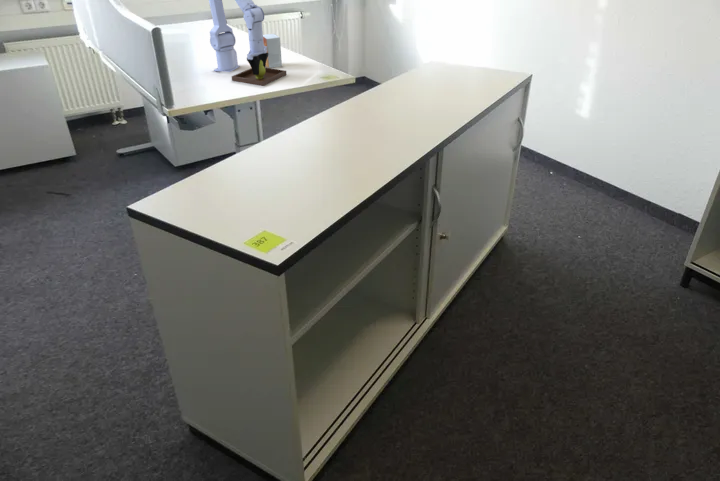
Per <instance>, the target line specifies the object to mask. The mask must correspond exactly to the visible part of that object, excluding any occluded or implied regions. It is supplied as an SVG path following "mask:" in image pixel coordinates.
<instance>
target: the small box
mask: <svg viewBox="0 0 720 481" xmlns="http://www.w3.org/2000/svg"><path fill="white" fill-rule="evenodd" d="M263 43H264V46H267V53H268V54H269V55H268V57H267V60H266V66H265V67H266V68H272V69H273V68H280V67H283V61H282V47H281V37H280V36H278V35H277V34H275V33H266V34H263Z"/></svg>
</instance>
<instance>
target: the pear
mask: <svg viewBox="0 0 720 481" xmlns="http://www.w3.org/2000/svg"><path fill="white" fill-rule="evenodd" d="M257 58H258V56H257ZM265 67H266V66H265ZM265 67H264V66H263V62H262V60H260V64H259V75H255V76H256V78H257V79H262V78H264V77H263V76H264V75H265V72H266V70H265Z"/></svg>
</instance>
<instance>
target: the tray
mask: <svg viewBox="0 0 720 481" xmlns="http://www.w3.org/2000/svg"><path fill="white" fill-rule="evenodd" d="M265 70H266V72H265V75H264V76H263V77H264V78H262V79H257V78H256V76H255V75H254V74H253V71H252V68H251V67H250V68H248V69H246V70H244V71H241V72H239V73H236V74H234V75H231V82H236V83H242V84H248V85H254V86H260V87H265V86H266V85H269V84H271V83H273V82H275V81H277V80H280V79H282V78H284V77H286V76H287V74H288V73H287V70H284V69H277V68H273V67H272V68H269V67H267V66H265Z"/></svg>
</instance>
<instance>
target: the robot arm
mask: <svg viewBox="0 0 720 481" xmlns="http://www.w3.org/2000/svg"><path fill="white" fill-rule="evenodd" d="M234 1H235V3H236V4H237V6H238V7H239V9H240V11H241V12H242V14H243V15H242V16H243V20H244V22H245V25H246V26H245V27H246V28H247V33H248V41H249V42H248V43H249V51H248V54H246V61H247V63H248V64H249V66H250V69H251V68H252V71H253V74H254V75H259V64H260V60H262V62H263V66H264V67H267V66H266V60H267V57H268V55H269V54H268V53H267V46H264V43H263V35H264V32H263V22H264V20H265V12H264V10H263V8H262V7H261V6H259V5H257V4H255V3H254V1H253V0H234ZM208 3H209V8H210V13H211V16H212V17H211V18H212V23H213V26H212V28H211V30H210V31H209V36H210V37H209V38H210V39H209V43H210V46H211V48H212V49H213V51H215V57H216V64H217V68H215V69H214V70H213V71H214V72H221V73H222V72H227V73H231V72H233V71H235V70H236V69H238V68H240V67H241V65H239V63H238V54H237V50H236V49H235V48H234V46H236V36H235V34H234V32H233V28H232V27H231V26H229V25H228V24H227V18H226V13H225V8H224V2H223V0H208ZM257 56H258V58H257Z"/></svg>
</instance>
